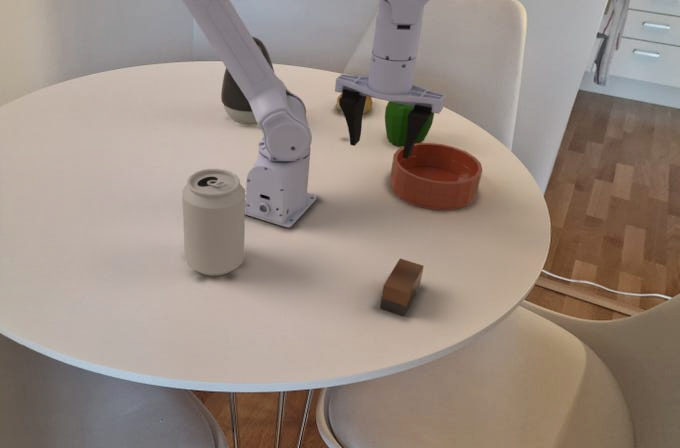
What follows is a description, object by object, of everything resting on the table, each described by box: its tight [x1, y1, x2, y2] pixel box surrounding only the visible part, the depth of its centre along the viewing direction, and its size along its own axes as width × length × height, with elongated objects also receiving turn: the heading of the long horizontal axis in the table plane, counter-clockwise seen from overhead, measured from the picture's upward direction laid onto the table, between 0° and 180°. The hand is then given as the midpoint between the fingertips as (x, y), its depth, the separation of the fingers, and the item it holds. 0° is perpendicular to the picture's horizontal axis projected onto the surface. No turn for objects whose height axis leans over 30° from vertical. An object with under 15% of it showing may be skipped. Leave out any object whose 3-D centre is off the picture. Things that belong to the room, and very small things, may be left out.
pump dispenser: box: [220, 36, 275, 125], centre depth 115 cm, size 10×10×15 cm
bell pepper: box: [384, 101, 435, 148], centre depth 111 cm, size 8×8×10 cm
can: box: [181, 168, 246, 277], centre depth 79 cm, size 8×8×12 cm
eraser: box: [379, 258, 425, 317], centre depth 76 cm, size 6×3×4 cm, turn 153°
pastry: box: [335, 92, 373, 116], centre depth 125 cm, size 9×7×4 cm
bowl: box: [389, 142, 483, 211], centre depth 99 cm, size 13×13×4 cm
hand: (380, 149), depth 90 cm, fingers open, 7 cm apart
